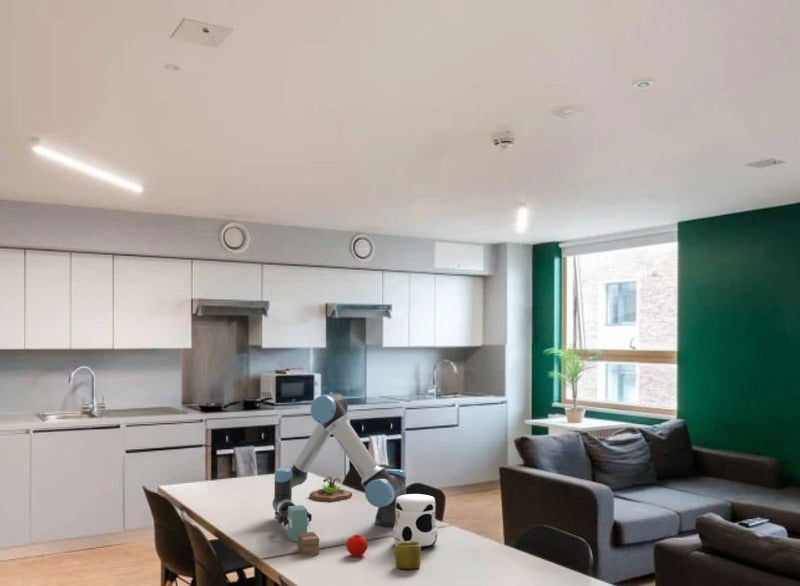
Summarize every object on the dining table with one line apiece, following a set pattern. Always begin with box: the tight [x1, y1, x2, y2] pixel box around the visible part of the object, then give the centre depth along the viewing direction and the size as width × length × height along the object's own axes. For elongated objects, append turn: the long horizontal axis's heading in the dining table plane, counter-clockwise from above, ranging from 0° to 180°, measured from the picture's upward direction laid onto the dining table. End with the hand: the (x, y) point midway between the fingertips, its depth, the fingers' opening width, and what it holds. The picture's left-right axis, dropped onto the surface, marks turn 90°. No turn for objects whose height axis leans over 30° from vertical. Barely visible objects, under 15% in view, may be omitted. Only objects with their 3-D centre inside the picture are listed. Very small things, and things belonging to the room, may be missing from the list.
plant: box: [308, 475, 353, 503], centre depth 357 cm, size 20×20×11 cm
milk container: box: [392, 493, 439, 549], centre depth 275 cm, size 17×17×18 cm
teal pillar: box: [287, 504, 308, 542], centre depth 283 cm, size 8×6×12 cm
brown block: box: [297, 531, 320, 557], centre depth 265 cm, size 9×6×6 cm
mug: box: [393, 541, 422, 570], centre depth 250 cm, size 12×10×10 cm
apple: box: [345, 534, 368, 558], centre depth 261 cm, size 8×8×7 cm
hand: (299, 523), depth 279 cm, fingers closed on teal pillar, 6 cm apart
